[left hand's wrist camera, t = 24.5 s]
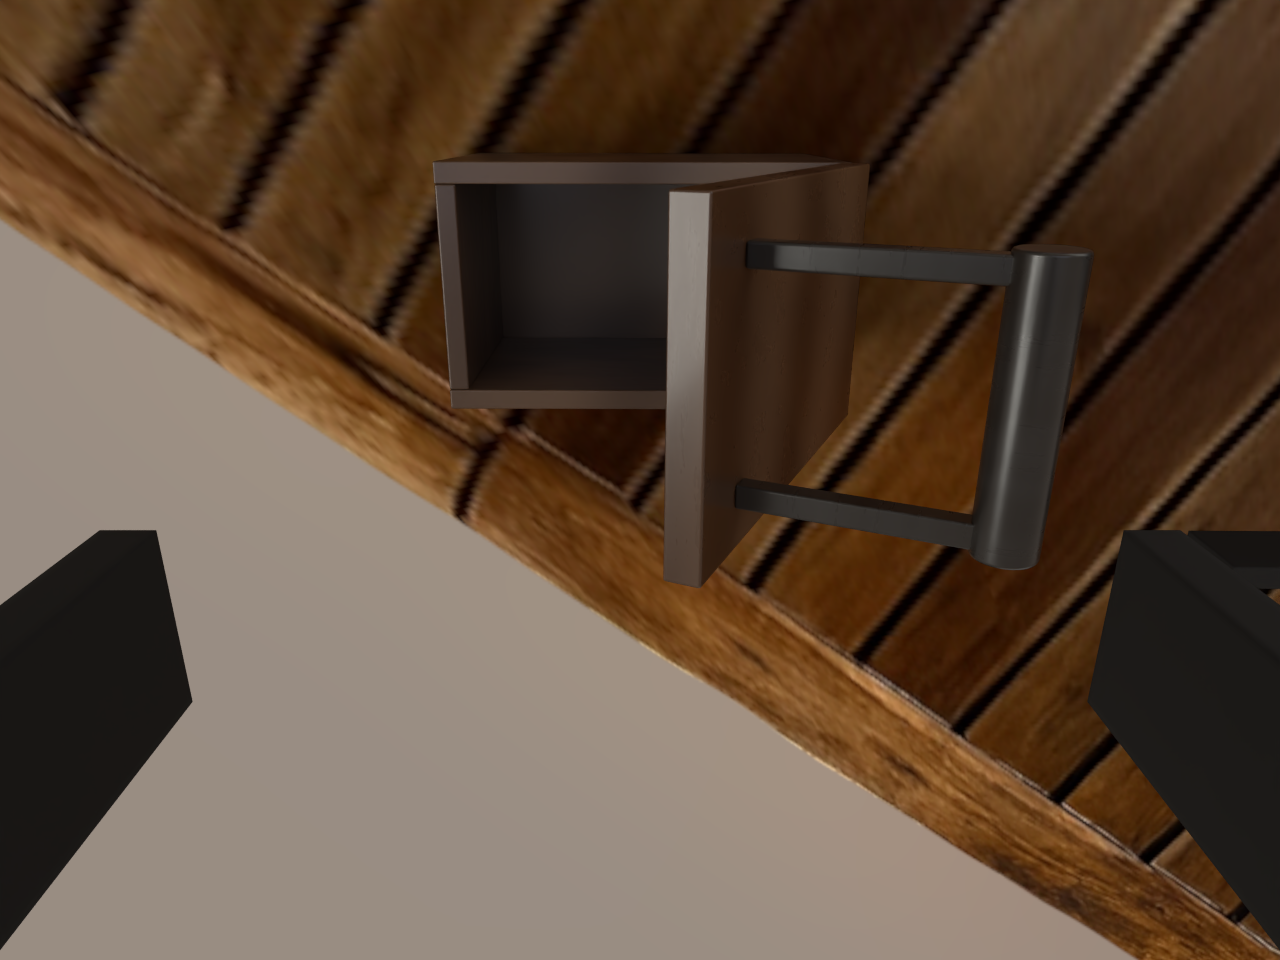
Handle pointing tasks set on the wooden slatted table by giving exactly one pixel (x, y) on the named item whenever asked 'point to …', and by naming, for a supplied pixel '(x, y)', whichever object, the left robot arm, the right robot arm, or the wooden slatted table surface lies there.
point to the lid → (838, 367)
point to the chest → (566, 272)
